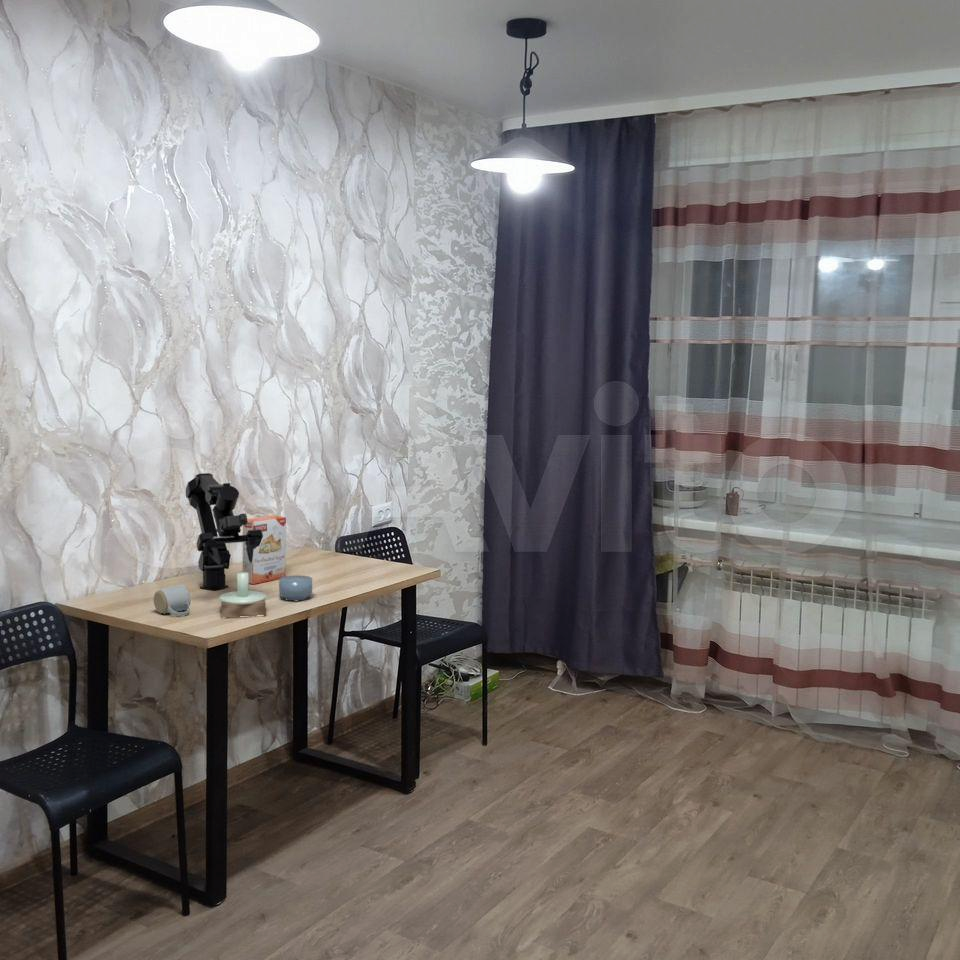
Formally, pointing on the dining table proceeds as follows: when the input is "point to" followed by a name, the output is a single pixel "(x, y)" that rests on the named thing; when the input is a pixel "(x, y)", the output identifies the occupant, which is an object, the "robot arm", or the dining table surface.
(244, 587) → the lid
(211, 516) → the robot arm
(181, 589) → the ceramic mug
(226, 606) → the walnut stand
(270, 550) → the cracker box
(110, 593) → the dining table surface
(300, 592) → the glazed bowl
